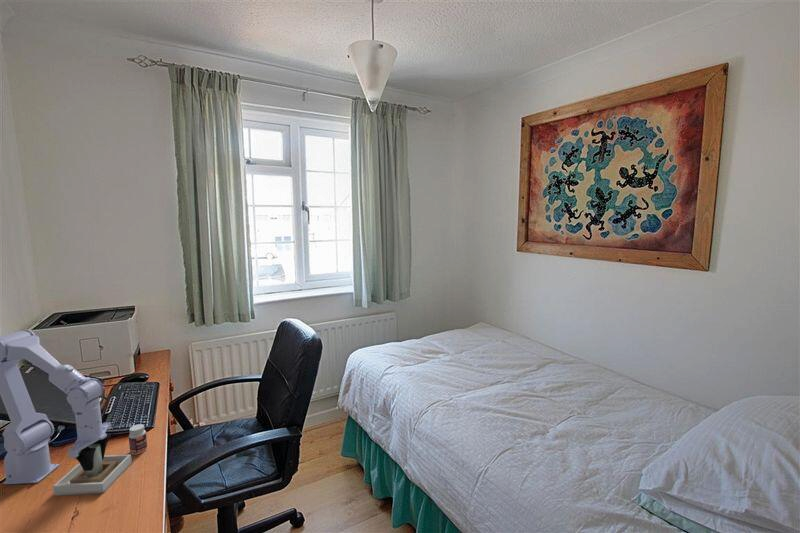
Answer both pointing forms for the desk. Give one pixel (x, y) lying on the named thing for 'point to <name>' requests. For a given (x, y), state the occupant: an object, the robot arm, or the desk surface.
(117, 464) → the tray
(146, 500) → the desk surface
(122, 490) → the desk surface
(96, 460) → the peg
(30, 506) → the desk surface
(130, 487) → the desk surface
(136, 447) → the pill bottle
